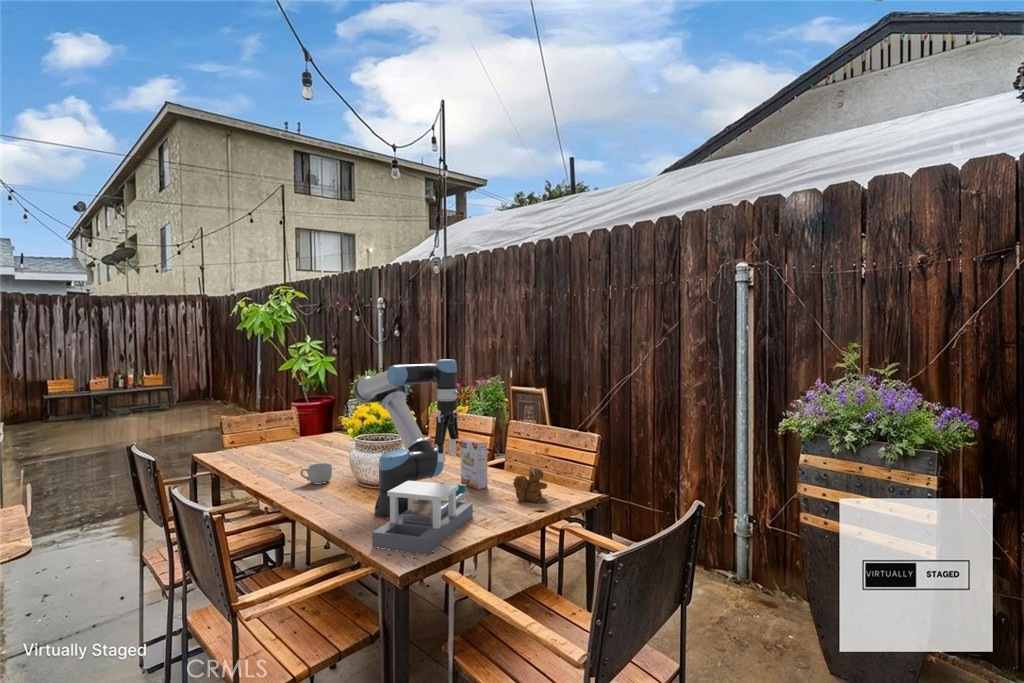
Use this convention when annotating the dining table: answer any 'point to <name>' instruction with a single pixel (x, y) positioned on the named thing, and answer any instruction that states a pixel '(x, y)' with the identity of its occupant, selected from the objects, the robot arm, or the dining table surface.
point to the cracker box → (474, 463)
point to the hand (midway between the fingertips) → (447, 458)
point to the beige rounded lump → (422, 507)
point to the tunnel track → (416, 534)
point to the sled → (429, 519)
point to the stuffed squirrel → (530, 486)
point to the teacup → (318, 472)
